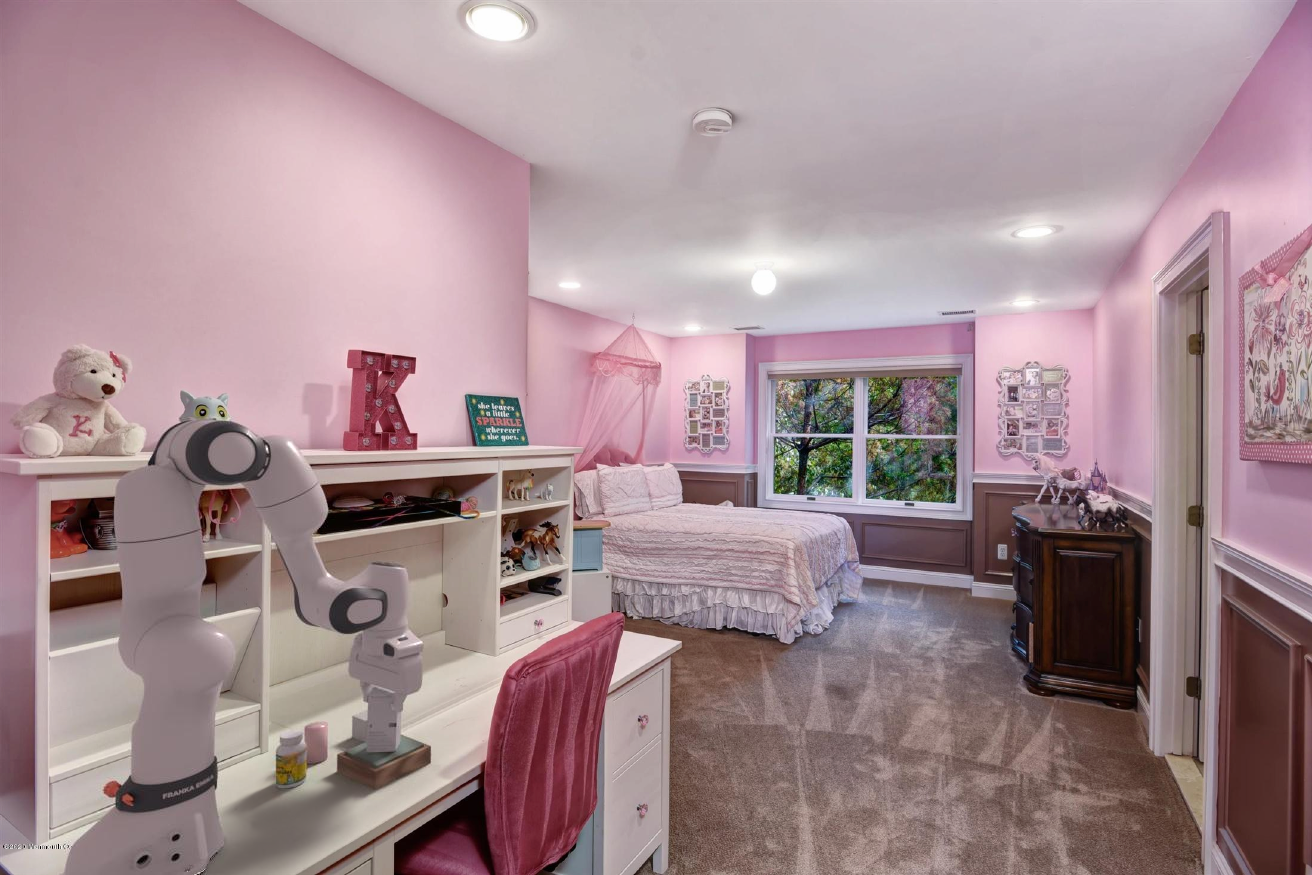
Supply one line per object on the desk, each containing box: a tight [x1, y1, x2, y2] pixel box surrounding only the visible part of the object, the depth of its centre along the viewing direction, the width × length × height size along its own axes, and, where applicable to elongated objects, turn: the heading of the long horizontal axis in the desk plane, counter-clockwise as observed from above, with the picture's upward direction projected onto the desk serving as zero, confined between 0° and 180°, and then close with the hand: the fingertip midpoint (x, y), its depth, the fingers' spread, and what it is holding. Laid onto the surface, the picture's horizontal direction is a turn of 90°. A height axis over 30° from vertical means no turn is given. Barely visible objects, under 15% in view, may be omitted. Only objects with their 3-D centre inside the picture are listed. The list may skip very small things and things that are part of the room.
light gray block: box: [351, 709, 368, 743], centre depth 151 cm, size 5×5×5 cm
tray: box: [336, 734, 432, 791], centre depth 137 cm, size 13×13×4 cm
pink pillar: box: [303, 721, 329, 765], centre depth 140 cm, size 4×4×7 cm
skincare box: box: [366, 686, 402, 753], centre depth 137 cm, size 6×4×12 cm
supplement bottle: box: [275, 729, 308, 789], centre depth 131 cm, size 5×5×10 cm
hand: (382, 706), depth 137 cm, fingers open, 8 cm apart
